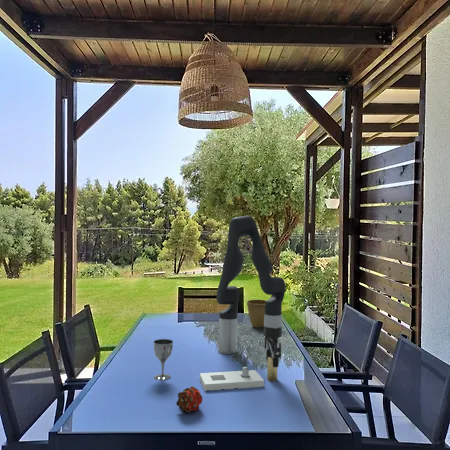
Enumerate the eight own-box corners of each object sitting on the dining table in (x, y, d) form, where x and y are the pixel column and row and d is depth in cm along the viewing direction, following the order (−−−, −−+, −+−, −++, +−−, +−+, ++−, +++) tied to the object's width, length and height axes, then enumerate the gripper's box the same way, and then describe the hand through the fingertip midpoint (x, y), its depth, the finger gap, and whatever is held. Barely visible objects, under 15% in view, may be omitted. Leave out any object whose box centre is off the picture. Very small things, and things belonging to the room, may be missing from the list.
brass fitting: (265, 377, 174) (266, 356, 174) (275, 377, 175) (275, 356, 175) (269, 381, 170) (269, 359, 170) (278, 380, 171) (279, 359, 171)
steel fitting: (241, 381, 170) (241, 366, 170) (247, 380, 171) (247, 366, 171) (243, 383, 168) (243, 368, 168) (249, 383, 168) (249, 368, 168)
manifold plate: (199, 379, 171) (199, 373, 171) (255, 375, 176) (255, 370, 176) (204, 390, 159) (204, 384, 159) (263, 386, 165) (263, 380, 165)
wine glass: (153, 381, 168) (154, 344, 168) (152, 374, 175) (152, 339, 175) (173, 379, 170) (174, 343, 170) (170, 373, 177) (171, 338, 178)
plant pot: (242, 325, 266) (242, 300, 266) (262, 323, 272) (262, 299, 272) (253, 330, 252) (254, 304, 252) (274, 328, 259) (274, 303, 259)
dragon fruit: (182, 423, 136) (190, 412, 148) (203, 409, 136) (210, 399, 148) (168, 400, 138) (178, 391, 150) (189, 386, 138) (197, 378, 149)
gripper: (259, 321, 179) (258, 358, 179) (269, 329, 165) (269, 369, 165) (275, 320, 180) (275, 358, 180) (287, 328, 166) (286, 368, 166)
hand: (272, 363), depth 172 cm, fingers open, 8 cm apart
